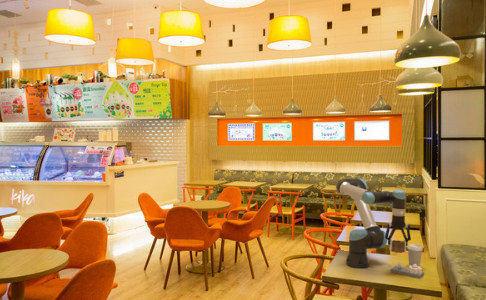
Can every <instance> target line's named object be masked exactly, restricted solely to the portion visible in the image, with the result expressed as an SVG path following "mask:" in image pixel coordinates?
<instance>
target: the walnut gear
mask: <svg viewBox="0 0 486 300" xmlns="http://www.w3.org/2000/svg"><path fill="white" fill-rule="evenodd" d="M404 246H405V243H404V240H403V241H402V240H398V239H397V240H396V239H394V240H392V251H391V253H396V254H397V253H399V254H403V253H405V252H404Z"/></svg>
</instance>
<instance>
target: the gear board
mask: <svg viewBox="0 0 486 300" xmlns="http://www.w3.org/2000/svg"><path fill="white" fill-rule="evenodd" d="M390 273H394V274H398V275H403V276H406V277H410V278H414V279H422V277H424V276H425V271H423V268H422V267H421V266H420V267H419V266H417V264H413V266H411V265H410V266H409V265H407V267H403V266H402V262H401V261H398V262H397V265H394V266H392V267H391V268H390Z"/></svg>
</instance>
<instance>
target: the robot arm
mask: <svg viewBox="0 0 486 300" xmlns="http://www.w3.org/2000/svg"><path fill="white" fill-rule="evenodd" d="M335 190H336V191H337V193H339V194H340V195H342V196H349V197H350V198H351V199H352V200H353V201H354V204H355V205H356V209H357V212H358V214H359V217H360V220H361V222H362V225H363V229H362V228H360V229H359V228H356V229H352V230H351V231H350V232H349V236H348V239H349V240H348V243H349V244H348V254H347V256H346V259H345V264H346V266H348V267H350V268H354V269H355V268H357V269H366V268H369V267H370V261H369V258H368V255H367V253H368V252H367V251H368V250H372V249H381V248H384V247H386V245H388V247H389V248H388V249H389V251H390V252H392V241H393V240H392V238H393V236H394V233H396V231H398V230H399V231H400V232H401V234H402V236H403V238H404V240H403V242H404V243H405V246H404V252H403V253H406V252H407V247H408V246H409V244H408V243H409V241H411V240H412V239H411V238H412V237H411V231H410V227H411V225H410V224H408V223H405V222H406V221H405V220H406V216H405V215H406V198H407V197H406V191H405V190H400V189H399V190H398V189H394V190H393V191H392V192H391V191H389V190H381V191H371V190H368V185H367V182H366V180H364V179H362V178H359V177H357V178H341V179H340V180H338V181H337V182H336V186H335ZM373 204H379V205H380V204H391V205H392V207H391V208H392V211H391V214H392V216H391V222H390V223H388V222H387V223H386V229H385V230H386V231H384V230H382V229H381V227H380V226H379V225H378V224H377V223H376V220H375V217H374V215H373V213H372V210H371V207H370V205H373ZM391 226H392V228H391ZM404 227H405V228H406V233H405V230H404ZM390 229H391V231H390Z"/></svg>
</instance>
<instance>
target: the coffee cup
mask: <svg viewBox="0 0 486 300" xmlns="http://www.w3.org/2000/svg"><path fill="white" fill-rule="evenodd" d="M406 250H407V253H408V266H410V265H411V266H413V264H417V266H419V267H420V268H421V261H422V255H423V254H422V253H423V247H422V245H419V244H414V243H413V244H412V243H411V244H408V245H407V246H406Z"/></svg>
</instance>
